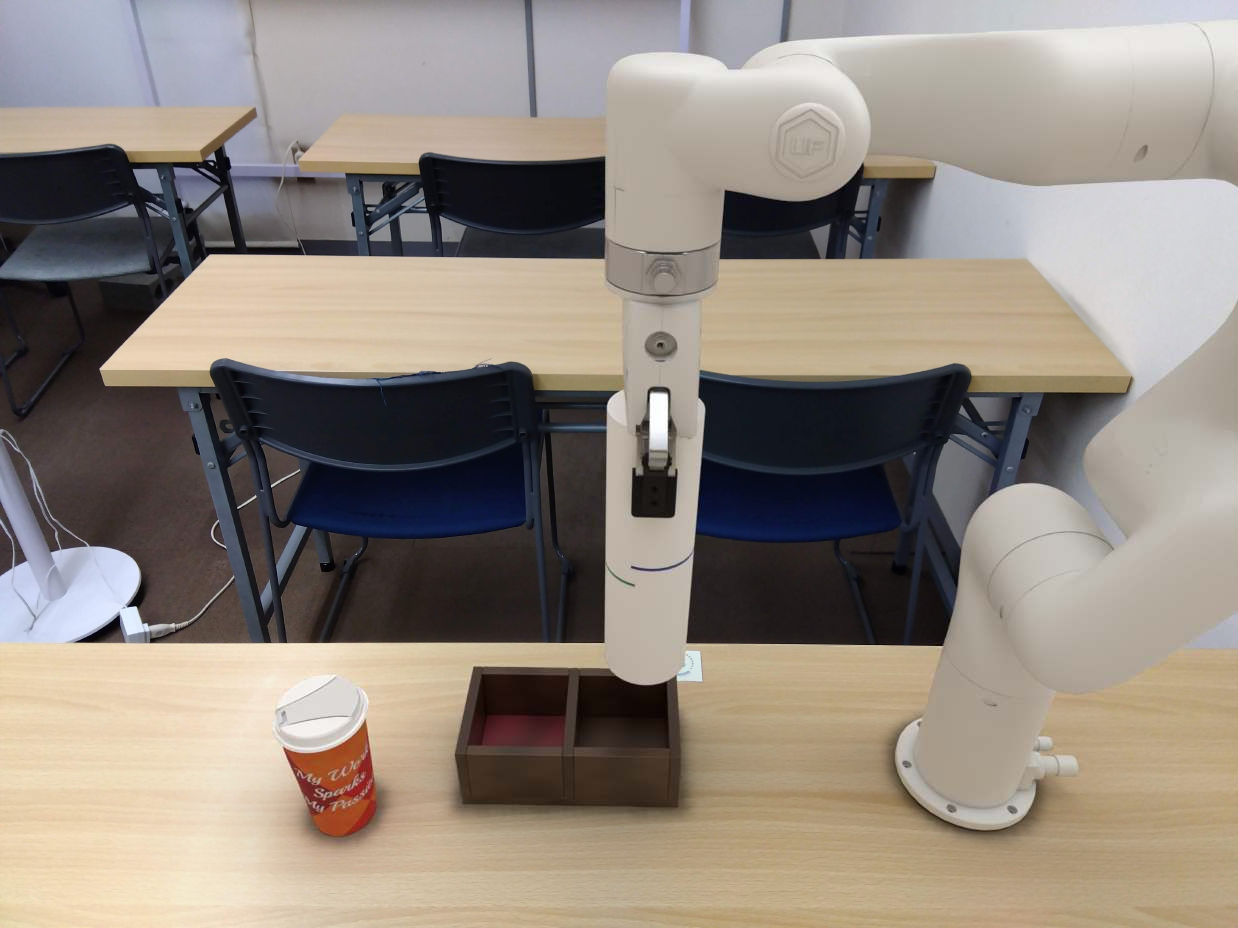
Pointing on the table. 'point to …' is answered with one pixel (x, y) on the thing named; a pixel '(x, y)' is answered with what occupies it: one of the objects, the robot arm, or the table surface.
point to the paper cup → (329, 751)
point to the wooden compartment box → (568, 739)
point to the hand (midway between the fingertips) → (652, 483)
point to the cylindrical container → (647, 559)
